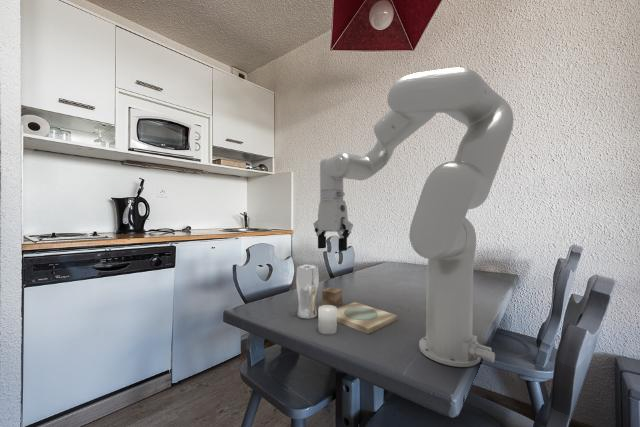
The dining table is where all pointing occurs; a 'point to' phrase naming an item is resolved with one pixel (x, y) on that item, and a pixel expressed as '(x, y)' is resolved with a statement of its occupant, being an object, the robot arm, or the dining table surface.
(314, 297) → the beer glass
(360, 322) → the birch board
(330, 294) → the walnut block
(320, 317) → the white short cylinder
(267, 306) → the dining table surface
